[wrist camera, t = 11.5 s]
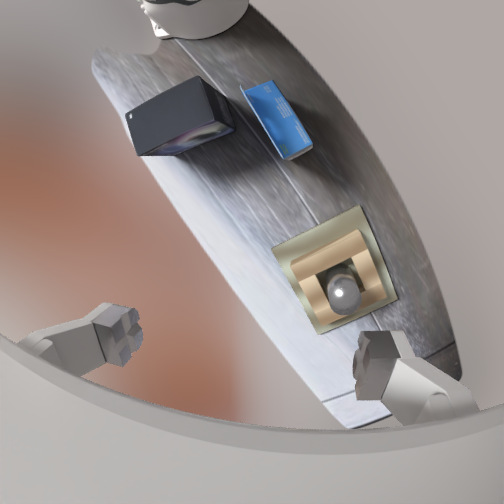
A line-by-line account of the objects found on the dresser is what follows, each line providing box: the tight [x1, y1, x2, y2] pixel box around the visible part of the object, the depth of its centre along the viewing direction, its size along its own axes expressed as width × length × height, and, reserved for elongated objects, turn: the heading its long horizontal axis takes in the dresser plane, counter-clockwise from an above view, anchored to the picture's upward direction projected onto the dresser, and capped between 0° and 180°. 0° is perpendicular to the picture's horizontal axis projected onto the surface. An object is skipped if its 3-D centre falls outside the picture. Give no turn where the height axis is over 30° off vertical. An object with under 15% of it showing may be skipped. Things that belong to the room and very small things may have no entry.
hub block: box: [271, 204, 397, 335], centre depth 38 cm, size 16×14×3 cm
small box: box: [125, 75, 236, 156], centre depth 32 cm, size 11×6×10 cm, turn 109°
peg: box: [325, 263, 362, 315], centre depth 35 cm, size 4×4×8 cm
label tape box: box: [240, 80, 313, 160], centre depth 29 cm, size 9×4×12 cm, turn 30°
